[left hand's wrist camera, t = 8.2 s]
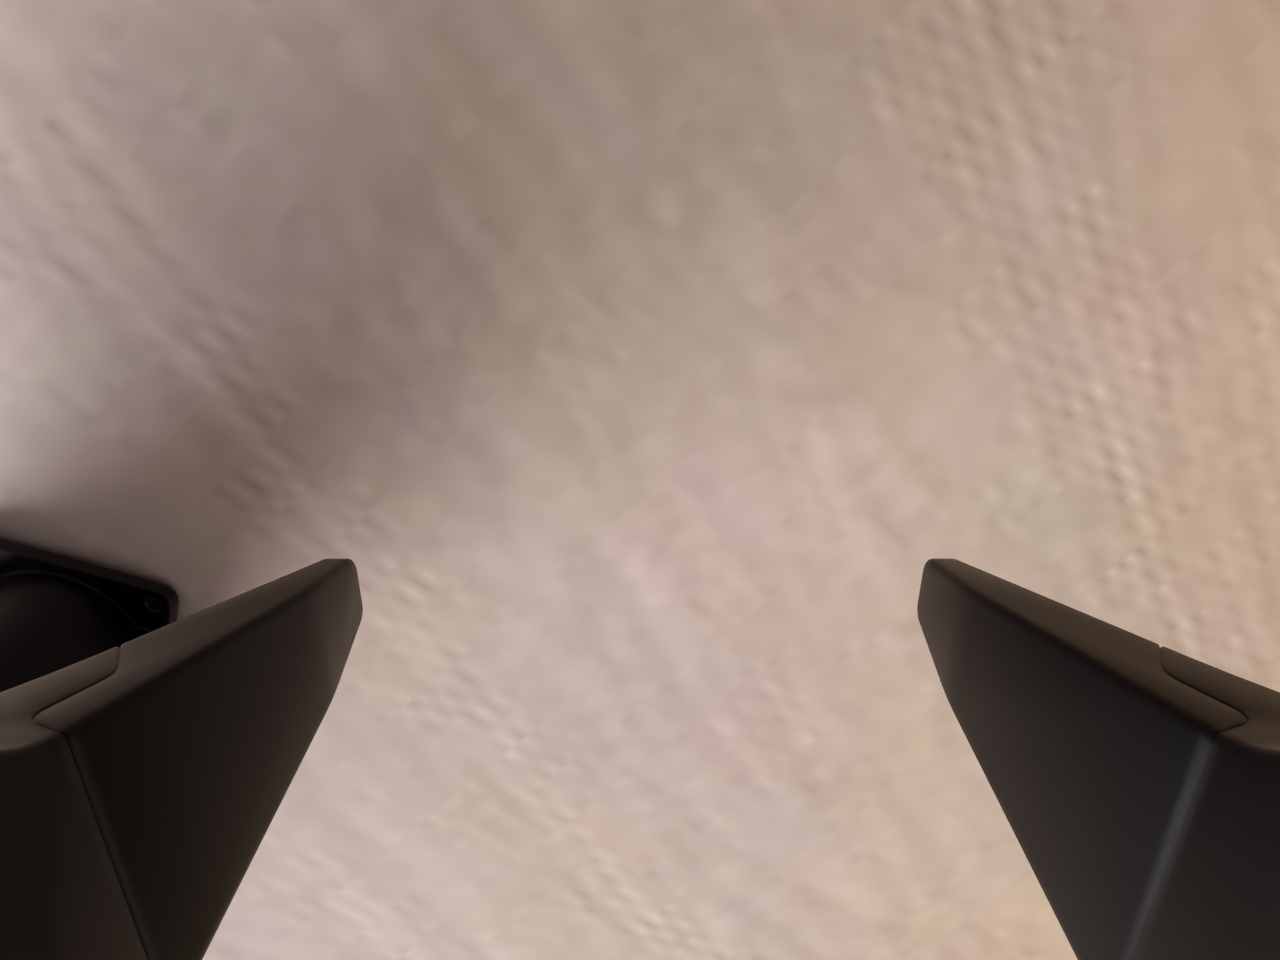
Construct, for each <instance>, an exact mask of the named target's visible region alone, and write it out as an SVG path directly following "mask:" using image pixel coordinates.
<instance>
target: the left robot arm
mask: <svg viewBox="0 0 1280 960" xmlns="http://www.w3.org/2000/svg"><path fill="white" fill-rule="evenodd" d="M155 597H156V598H158V599H160V600H161V601H162V603H163V604H161V603H159V602H157V600H156V599H155ZM178 604H179V599H178V595H177V594H176V592H175V591H174V590H173V589H172V588H171V587H169V586H167V585H165V584H161V583H158V582H154V581H151V580H147V579H143V578H140V577H136V576H133V575H129V574H125V573H122V572H118V571H114V570H111V569H107V568H104V567H100V566H96V565H93V564H89V563H85V562H82V561H78V560H75V559H71V558H67V557H64V556H60V555H56V554H53V553H49V552H46V551H42V550H38V549H35V548H31V547H27V546H24V545H20V544H17V543H13V542H9V541H6V540H2V539H0V960H202V959H203V957H204V955H205V953H206V951H207V949H208V947H209V945H210V943H211V941H212V939H213V937H214V935H215V933H216V931H217V929H218V927H219V925H220V923H221V921H222V919H223V917H224V915H225V913H226V911H227V909H228V907H229V905H230V903H231V901H232V899H233V897H234V895H235V893H236V891H237V889H238V887H239V885H240V883H241V881H242V879H243V877H244V875H245V873H246V871H247V869H248V867H249V865H250V863H251V861H252V859H253V857H254V855H255V853H256V851H257V849H258V847H259V845H260V843H261V841H262V839H263V837H264V835H265V833H266V831H267V829H268V827H269V825H270V823H271V821H272V819H273V817H274V815H275V813H276V811H277V809H278V807H279V805H280V803H281V801H282V799H283V797H284V795H285V793H286V791H287V789H288V787H289V785H290V783H291V781H292V779H293V777H294V775H295V773H296V771H297V769H298V767H299V765H300V763H301V761H302V759H303V757H304V755H305V753H306V751H307V749H308V747H309V745H310V743H311V742H312V740H313V738H314V736H315V734H316V732H317V730H318V728H319V726H320V724H321V722H322V720H323V718H324V716H325V714H326V712H327V709H328V707H329V705H330V703H331V701H332V699H333V696H334V694H335V691H336V689H337V686H338V683H339V681H340V678H341V675H342V672H343V669H344V667H345V664H346V661H347V658H348V655H349V653H350V650H351V647H352V644H353V641H354V639H355V636H356V633H357V630H358V627H359V625H360V622H361V618H362V611H363V609H362V600H361V593H360V587H359V581H358V575H357V570H356V566H355V564H354V562H353V561H352V560H350V559H324V560H322V561H319V562H317V563H315V564H312V565H310V566H307V567H305V568H303V569H300V570H298V571H295V572H293V573H291V574H288V575H286V576H284V577H281V578H279V579H276V580H274V581H272V582H269V583H267V584H264V585H262V586H260V587H257V588H255V589H252V590H250V591H248V592H245V593H243V594H241V595H238V596H236V597H233V598H231V599H229V600H226V601H224V602H221V603H219V604H217V605H214V606H212V607H210V608H207V609H205V610H202V611H200V612H198V613H195V614H193V615H190V616H188V617H186V618H183V619H181V620H178V621H177V612H178ZM917 611H918V618H919V622H920V625H921V627H922V630H923V633H924V636H925V639H926V641H927V644H928V647H929V650H930V653H931V655H932V658H933V661H934V664H935V667H936V669H937V672H938V675H939V678H940V681H941V683H942V686H943V689H944V691H945V694H946V696H947V699H948V701H949V703H950V705H951V707H952V709H953V712H954V714H955V716H956V718H957V720H958V722H959V724H960V726H961V728H962V730H963V732H964V734H965V736H966V738H967V740H968V742H969V744H970V745H971V747H972V749H973V751H974V753H975V755H976V757H977V759H978V761H979V763H980V765H981V767H982V769H983V771H984V773H985V775H986V777H987V779H988V781H989V783H990V785H991V787H992V789H993V791H994V793H995V795H996V797H997V799H998V801H999V803H1000V805H1001V807H1002V809H1003V811H1004V813H1005V815H1006V817H1007V819H1008V821H1009V823H1010V825H1011V827H1012V829H1013V831H1014V833H1015V835H1016V837H1017V839H1018V841H1019V843H1020V845H1021V847H1022V849H1023V851H1024V853H1025V855H1026V857H1027V859H1028V861H1029V863H1030V865H1031V867H1032V869H1033V871H1034V873H1035V875H1036V877H1037V879H1038V881H1039V883H1040V885H1041V887H1042V889H1043V891H1044V893H1045V895H1046V897H1047V899H1048V901H1049V903H1050V905H1051V907H1052V909H1053V911H1054V913H1055V915H1056V917H1057V919H1058V921H1059V923H1060V925H1061V927H1062V929H1063V931H1064V933H1065V935H1066V937H1067V939H1068V941H1069V943H1070V945H1071V947H1072V949H1073V951H1074V953H1075V955H1076V957H1077V959H1078V960H1280V692H1277V691H1274V690H1272V689H1269V688H1266V687H1264V686H1261V685H1259V684H1256V683H1253V682H1251V681H1248V680H1245V679H1243V678H1240V677H1238V676H1235V675H1232V674H1230V673H1227V672H1225V671H1222V670H1220V669H1217V668H1215V667H1212V666H1210V665H1207V664H1205V663H1203V662H1200V661H1198V660H1195V659H1193V658H1190V657H1188V656H1185V655H1183V654H1181V653H1178V652H1176V651H1173V650H1171V649H1169V648H1166V647H1161V648H1160V647H1159V645H1158V644H1156V643H1154V642H1152V641H1149V640H1147V639H1145V638H1142V637H1140V636H1137V635H1135V634H1133V633H1130V632H1128V631H1125V630H1123V629H1121V628H1118V627H1116V626H1113V625H1111V624H1109V623H1106V622H1104V621H1102V620H1099V619H1097V618H1094V617H1092V616H1090V615H1087V614H1085V613H1082V612H1080V611H1078V610H1075V609H1073V608H1070V607H1068V606H1066V605H1063V604H1061V603H1059V602H1056V601H1054V600H1051V599H1049V598H1047V597H1044V596H1042V595H1039V594H1037V593H1035V592H1032V591H1030V590H1028V589H1025V588H1023V587H1020V586H1018V585H1016V584H1013V583H1011V582H1008V581H1006V580H1004V579H1001V578H999V577H996V576H994V575H992V574H989V573H987V572H985V571H982V570H980V569H977V568H975V567H973V566H970V565H968V564H965V563H963V562H961V561H958V560H956V559H930V560H928V561H927V562H926V564H925V566H924V570H923V575H922V581H921V587H920V593H919V600H918V609H917Z"/></svg>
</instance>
